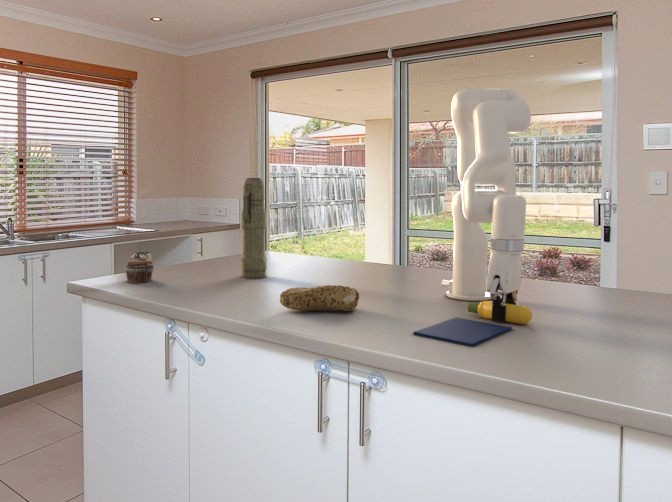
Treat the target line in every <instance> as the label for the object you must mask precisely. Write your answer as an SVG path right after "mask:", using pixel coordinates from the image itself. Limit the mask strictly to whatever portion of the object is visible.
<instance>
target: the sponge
mask: <svg viewBox="0 0 672 502" xmlns="http://www.w3.org/2000/svg"><path fill="white" fill-rule="evenodd" d="M359 300H360V292H359V291H358V289H356V288H354V287H350V286H344V285H336V284H335V285H329V284H328V285H318V286H315V287H304V286H303V287H300V286H299V287H290V288H288V289H286V290H285V291H282V292H281V293H280V295H279V303H280V304H281V306H283V307H284V308H287V309H290V310H294V311H300V312H314V311H315V312H317V311H322V310H337V311H345V312H351V311H353V310H355V309H356V308H357V307H358V303H359Z"/></svg>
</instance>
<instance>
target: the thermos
mask: <svg viewBox="0 0 672 502" xmlns="http://www.w3.org/2000/svg"><path fill="white" fill-rule="evenodd" d="M264 183H265V182H264V180H263V179H262V178H261V177H247V178H244V181H243V185H242V202H243V204H242V210H241V215H240V216H241V218H240V219H241V224H240V225H241V229H242V256H241V261H240V262H241V277H242V278H243V279H264V278H267V266H268V264H267V263H268V262H267V255H266V229H267V211H266V207H265V205H266V204H265V198H266V197H265V193H266V192H265V191H266V189H265V188H266V187H265V184H264Z"/></svg>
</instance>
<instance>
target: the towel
mask: <svg viewBox="0 0 672 502" xmlns="http://www.w3.org/2000/svg"><path fill="white" fill-rule="evenodd" d="M512 329H513V327H512V326H508V325H504V324H503V325H501V324H496V323H491V322H484V321H479V320H474V319H468V318H462V317H453V318H451V319H448V320H445V321H442V322H439V323H436V324H433V325H430V326H427V327H424V328H421V329H418V330H415V331H413V335H414V336H420V337H423V338H430V339H434V340H438V341H443V342H448V343H453V344H457V345H458V344H459V345H463V346H468V347H474V346H477V345H480V344H482V343H484V342H486V341H488V340H491V339H493V338H495V337H497V336H500V335H503V334H505V333H507V332H509V331H512Z"/></svg>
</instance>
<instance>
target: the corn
mask: <svg viewBox="0 0 672 502" xmlns="http://www.w3.org/2000/svg"><path fill="white" fill-rule="evenodd" d="M504 306H506V318H505V322H506V323H511V324H518V325H526V324H528V323H530V322H531V321H532V318H533V312H532V310H531V309H530V308H529V307H527V306H525V305H518V304H516V305H513V304H506V303H505V305H504ZM467 311H468V313H471V314H477V315H479V316H480V317H481V318H483V319H488V320H492V300H483V301H479V302H478V301H469V302H468V304H467Z"/></svg>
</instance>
